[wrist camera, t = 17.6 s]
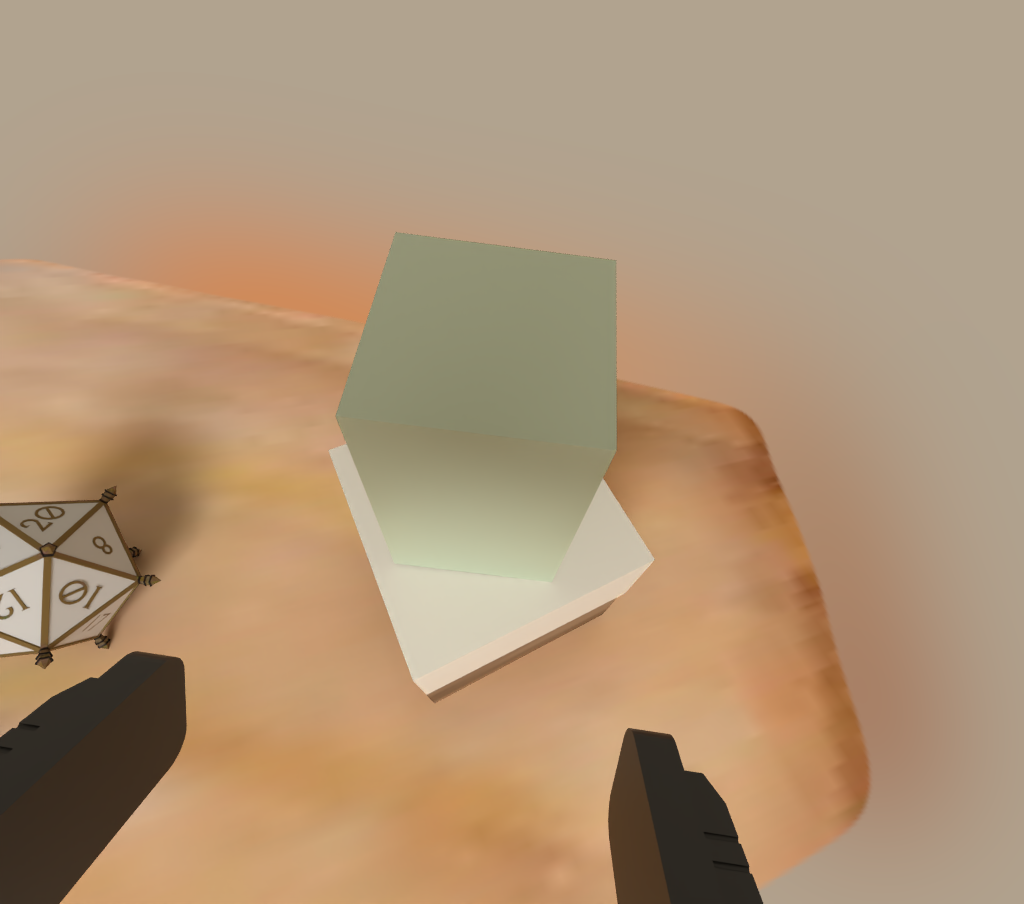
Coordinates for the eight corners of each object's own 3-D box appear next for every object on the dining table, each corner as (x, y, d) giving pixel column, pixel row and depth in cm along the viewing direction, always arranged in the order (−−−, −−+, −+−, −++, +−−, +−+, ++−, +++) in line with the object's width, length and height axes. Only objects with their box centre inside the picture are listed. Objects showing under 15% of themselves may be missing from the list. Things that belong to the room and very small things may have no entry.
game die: (115, 594, 32) (-3, 454, 27) (228, 578, 30) (120, 423, 25) (-40, 735, 24) (-239, 572, 20) (98, 727, 22) (-91, 543, 17)
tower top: (353, 499, 26) (328, 450, 22) (528, 430, 29) (536, 374, 25) (426, 694, 22) (413, 680, 18) (624, 593, 25) (654, 559, 20)
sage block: (551, 582, 20) (616, 450, 11) (394, 563, 20) (335, 416, 11) (560, 447, 23) (616, 260, 14) (423, 430, 23) (395, 232, 14)
